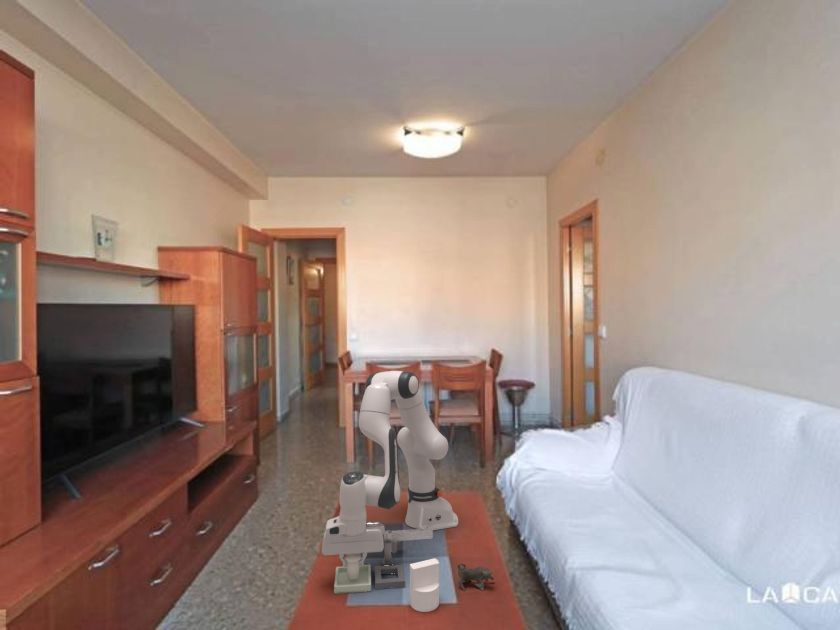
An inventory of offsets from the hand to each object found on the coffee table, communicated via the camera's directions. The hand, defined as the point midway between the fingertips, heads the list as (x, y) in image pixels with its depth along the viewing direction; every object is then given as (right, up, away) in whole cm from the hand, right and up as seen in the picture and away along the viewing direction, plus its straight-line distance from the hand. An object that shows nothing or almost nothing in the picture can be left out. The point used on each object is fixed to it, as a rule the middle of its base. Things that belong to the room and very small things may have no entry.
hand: (353, 565), depth 151 cm
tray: (0, -6, 0) cm, 6 cm away
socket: (+11, -6, +5) cm, 14 cm away
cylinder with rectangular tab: (+23, -6, -10) cm, 26 cm away
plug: (0, -4, 0) cm, 4 cm away
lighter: (+13, -6, +19) cm, 23 cm away
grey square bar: (+18, +3, +12) cm, 22 cm away
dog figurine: (+40, -6, -2) cm, 41 cm away
